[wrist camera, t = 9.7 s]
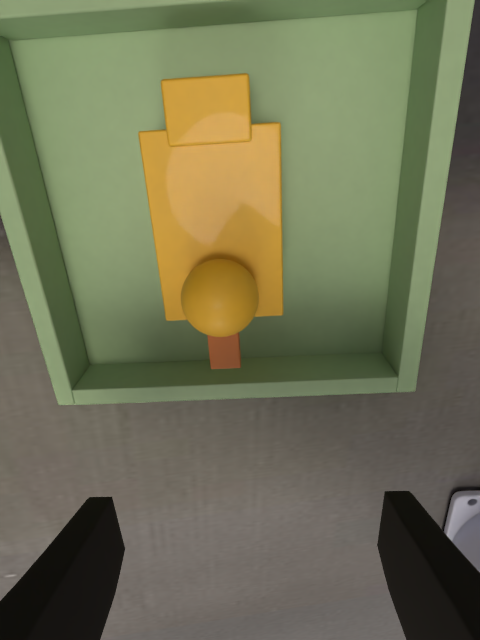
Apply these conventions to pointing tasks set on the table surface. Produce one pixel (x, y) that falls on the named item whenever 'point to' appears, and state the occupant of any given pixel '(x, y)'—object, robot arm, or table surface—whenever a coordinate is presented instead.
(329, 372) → the tray
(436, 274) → the table surface
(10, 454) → the table surface
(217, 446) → the table surface
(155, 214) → the toy duck
